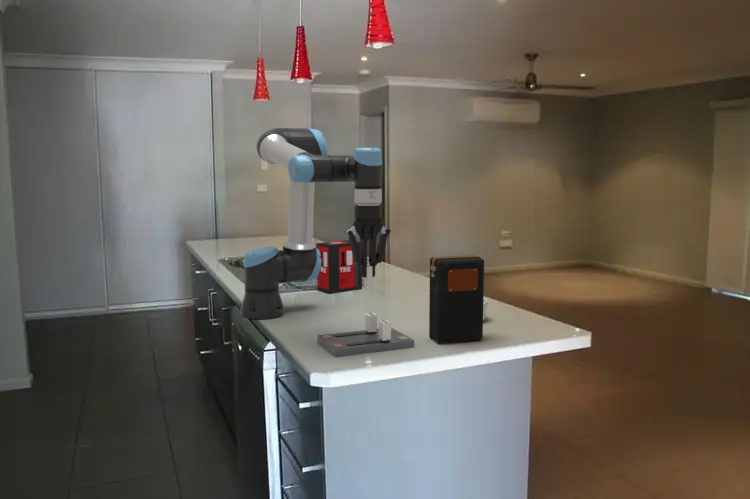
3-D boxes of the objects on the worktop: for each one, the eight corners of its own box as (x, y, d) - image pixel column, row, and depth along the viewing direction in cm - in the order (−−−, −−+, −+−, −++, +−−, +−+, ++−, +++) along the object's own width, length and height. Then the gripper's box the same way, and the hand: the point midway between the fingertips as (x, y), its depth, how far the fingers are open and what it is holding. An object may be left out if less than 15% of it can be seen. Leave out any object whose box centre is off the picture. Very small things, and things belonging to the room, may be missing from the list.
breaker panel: (317, 342, 188) (317, 334, 187) (391, 333, 197) (391, 326, 197) (335, 356, 173) (335, 349, 173) (414, 347, 182) (414, 339, 182)
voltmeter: (473, 334, 196) (475, 254, 193) (486, 341, 188) (488, 258, 185) (426, 338, 192) (427, 256, 188) (437, 345, 184) (438, 260, 180)
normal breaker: (365, 329, 192) (365, 313, 191) (373, 329, 193) (373, 312, 192) (369, 332, 189) (369, 315, 188) (377, 331, 190) (376, 314, 189)
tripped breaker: (378, 338, 182) (378, 320, 182) (386, 337, 183) (386, 319, 183) (382, 340, 180) (382, 322, 179) (390, 339, 181) (390, 321, 180)
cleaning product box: (349, 286, 275) (349, 240, 272) (362, 289, 268) (361, 242, 265) (317, 290, 264) (317, 243, 262) (329, 294, 258) (329, 245, 255)
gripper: (350, 205, 169) (351, 292, 172) (395, 204, 174) (394, 289, 177) (341, 204, 175) (341, 287, 179) (384, 203, 181) (383, 284, 184)
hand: (368, 288), depth 178 cm, fingers closed
